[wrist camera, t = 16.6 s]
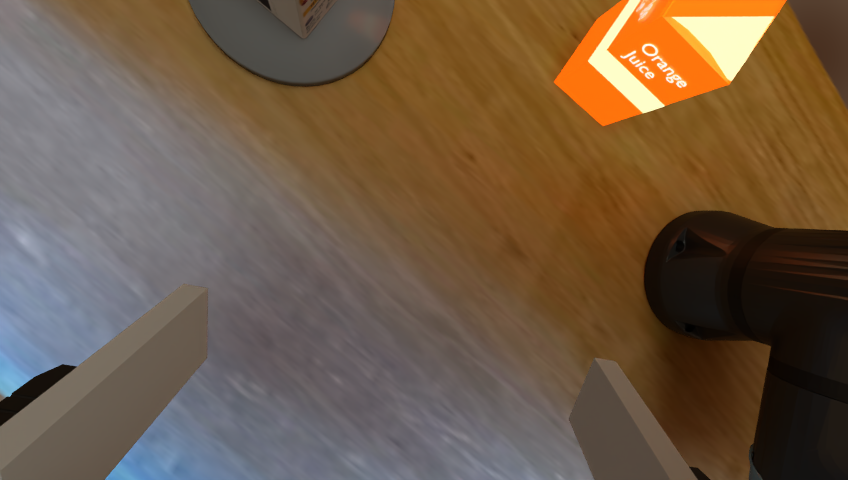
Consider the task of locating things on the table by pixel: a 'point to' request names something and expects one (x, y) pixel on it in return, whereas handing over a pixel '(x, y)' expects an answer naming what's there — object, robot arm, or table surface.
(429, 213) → the table surface
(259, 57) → the slate plate
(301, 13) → the container
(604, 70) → the orange juice
